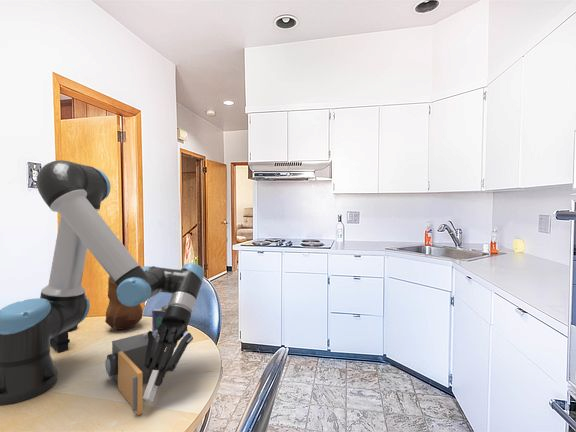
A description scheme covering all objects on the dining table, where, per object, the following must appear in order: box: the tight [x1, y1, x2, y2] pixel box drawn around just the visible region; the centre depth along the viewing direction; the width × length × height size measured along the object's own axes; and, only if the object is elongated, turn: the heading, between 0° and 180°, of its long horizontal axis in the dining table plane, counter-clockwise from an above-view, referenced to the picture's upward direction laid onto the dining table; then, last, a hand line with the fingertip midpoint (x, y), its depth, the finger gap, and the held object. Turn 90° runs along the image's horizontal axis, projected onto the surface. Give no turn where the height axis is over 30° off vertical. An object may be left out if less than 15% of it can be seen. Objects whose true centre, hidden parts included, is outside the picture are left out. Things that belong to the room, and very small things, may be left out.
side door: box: [117, 351, 143, 416], centre depth 80 cm, size 16×2×10 cm, turn 44°
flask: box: [151, 304, 167, 331], centre depth 125 cm, size 10×3×12 cm, turn 76°
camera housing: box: [104, 330, 165, 383], centre depth 93 cm, size 14×10×11 cm
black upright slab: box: [50, 330, 71, 353], centre depth 112 cm, size 4×13×15 cm, turn 50°
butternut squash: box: [104, 275, 143, 330], centre depth 131 cm, size 14×13×25 cm
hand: (147, 399), depth 76 cm, fingers closed
